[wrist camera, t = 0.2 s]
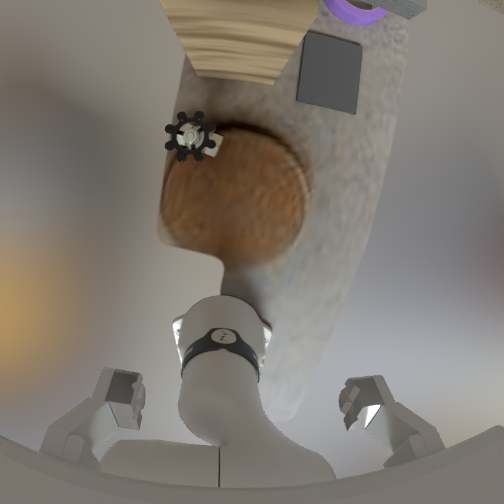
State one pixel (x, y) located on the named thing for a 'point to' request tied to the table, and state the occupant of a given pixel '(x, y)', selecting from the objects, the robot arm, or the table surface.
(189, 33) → the oak post
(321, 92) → the mat
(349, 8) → the masking tape
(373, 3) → the bar
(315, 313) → the table surface
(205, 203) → the table surface
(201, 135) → the valve
